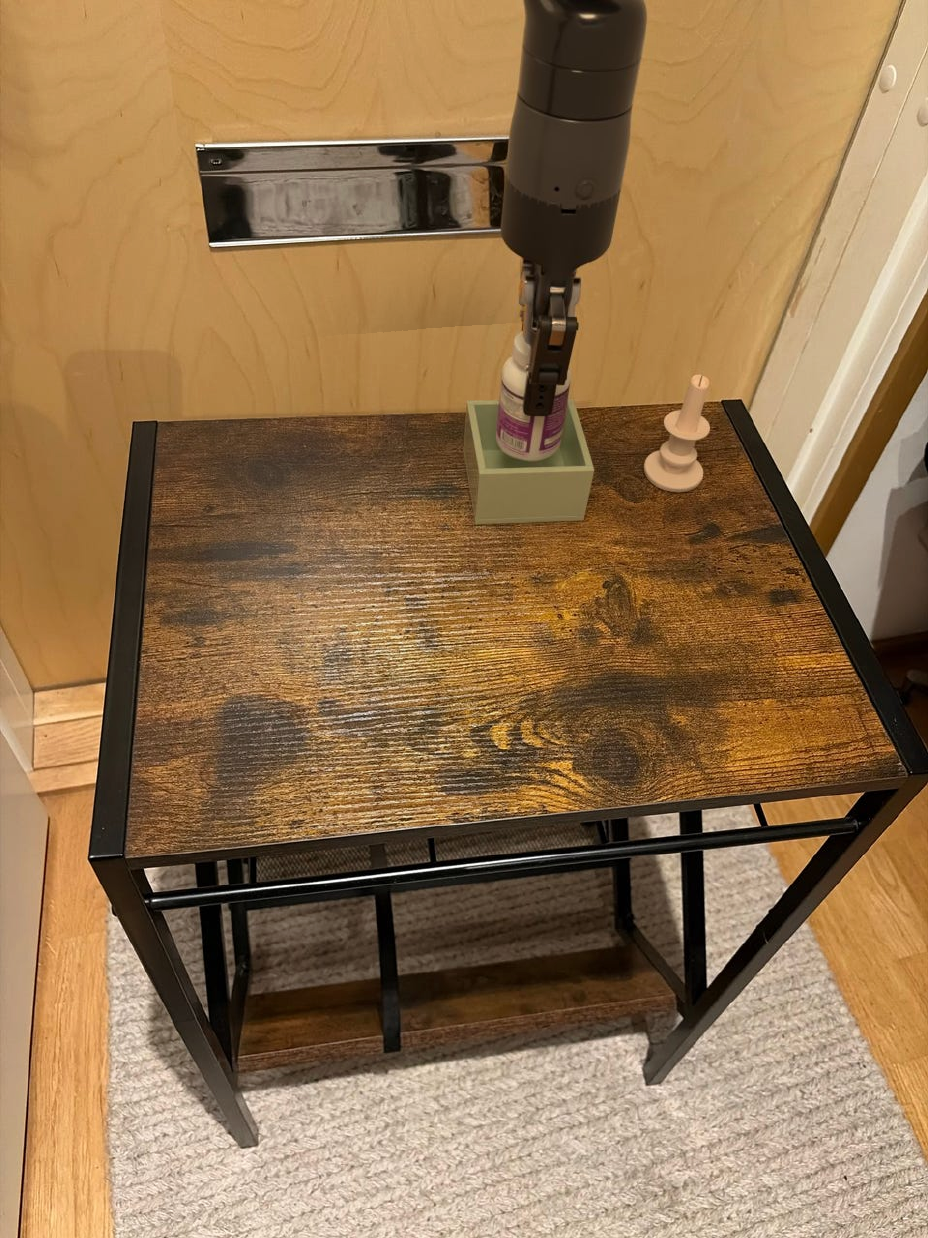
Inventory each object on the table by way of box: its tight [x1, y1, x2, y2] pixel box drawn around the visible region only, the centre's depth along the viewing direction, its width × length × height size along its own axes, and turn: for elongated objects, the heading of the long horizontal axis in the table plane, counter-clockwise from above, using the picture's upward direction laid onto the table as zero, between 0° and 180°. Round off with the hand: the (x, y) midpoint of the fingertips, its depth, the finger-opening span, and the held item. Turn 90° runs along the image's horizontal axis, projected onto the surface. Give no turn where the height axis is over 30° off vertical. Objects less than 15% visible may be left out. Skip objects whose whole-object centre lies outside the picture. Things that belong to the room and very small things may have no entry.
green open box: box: [462, 397, 595, 526], centre depth 79 cm, size 9×9×6 cm
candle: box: [642, 374, 711, 493], centre depth 79 cm, size 5×5×10 cm
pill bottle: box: [496, 328, 572, 462], centre depth 74 cm, size 5×5×10 cm
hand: (534, 388), depth 73 cm, fingers closed on pill bottle, 5 cm apart
